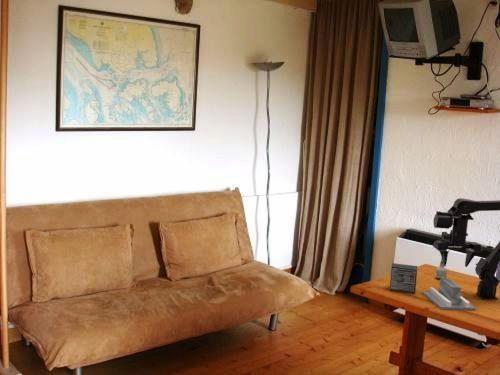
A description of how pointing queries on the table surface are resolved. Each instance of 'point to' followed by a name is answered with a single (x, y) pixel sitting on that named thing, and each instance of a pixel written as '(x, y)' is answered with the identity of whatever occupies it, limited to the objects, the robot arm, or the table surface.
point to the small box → (403, 278)
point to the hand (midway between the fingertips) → (455, 266)
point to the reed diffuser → (441, 270)
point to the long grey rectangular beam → (450, 290)
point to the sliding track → (447, 301)
